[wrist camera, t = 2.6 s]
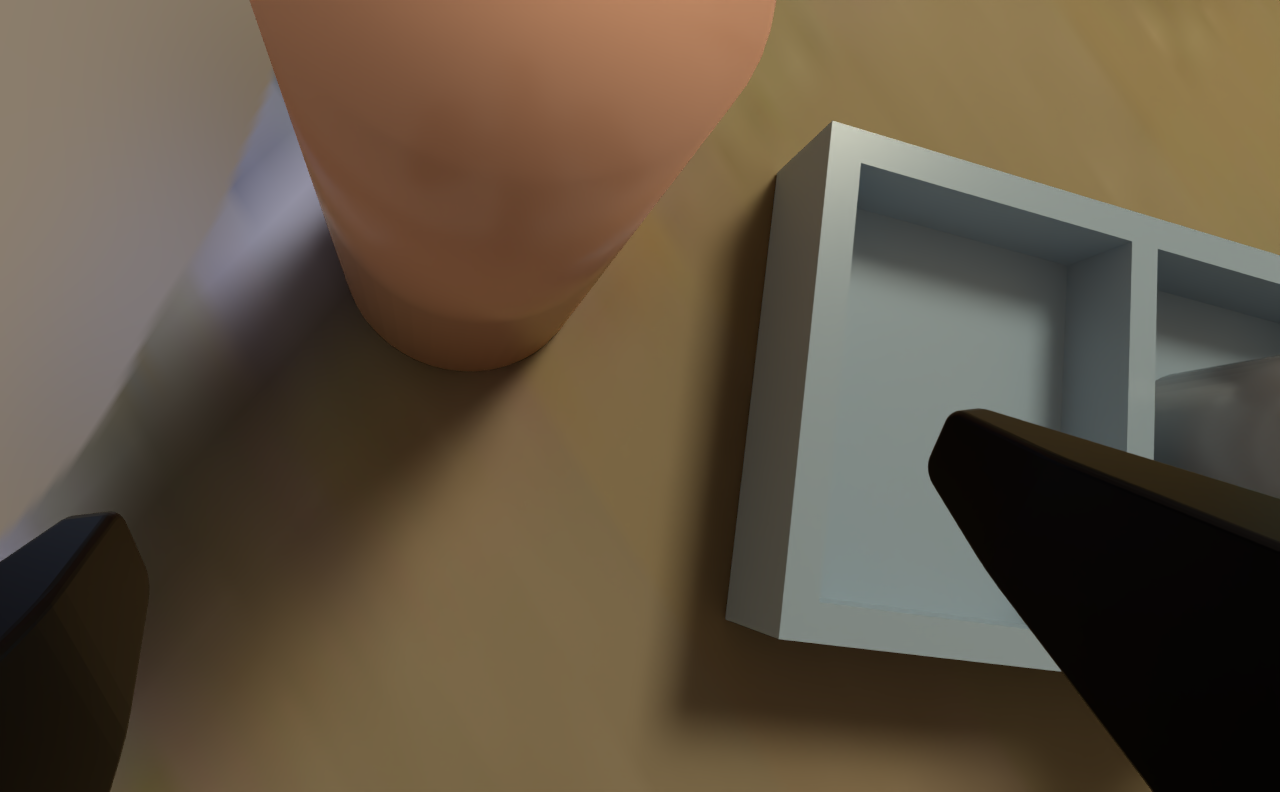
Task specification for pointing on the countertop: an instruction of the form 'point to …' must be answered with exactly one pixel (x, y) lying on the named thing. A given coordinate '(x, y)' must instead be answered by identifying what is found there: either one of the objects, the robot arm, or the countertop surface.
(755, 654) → the countertop surface
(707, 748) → the countertop surface
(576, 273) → the peach round cylinder
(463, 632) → the countertop surface
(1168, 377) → the grey cylinder
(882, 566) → the cup rack
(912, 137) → the countertop surface
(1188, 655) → the robot arm
